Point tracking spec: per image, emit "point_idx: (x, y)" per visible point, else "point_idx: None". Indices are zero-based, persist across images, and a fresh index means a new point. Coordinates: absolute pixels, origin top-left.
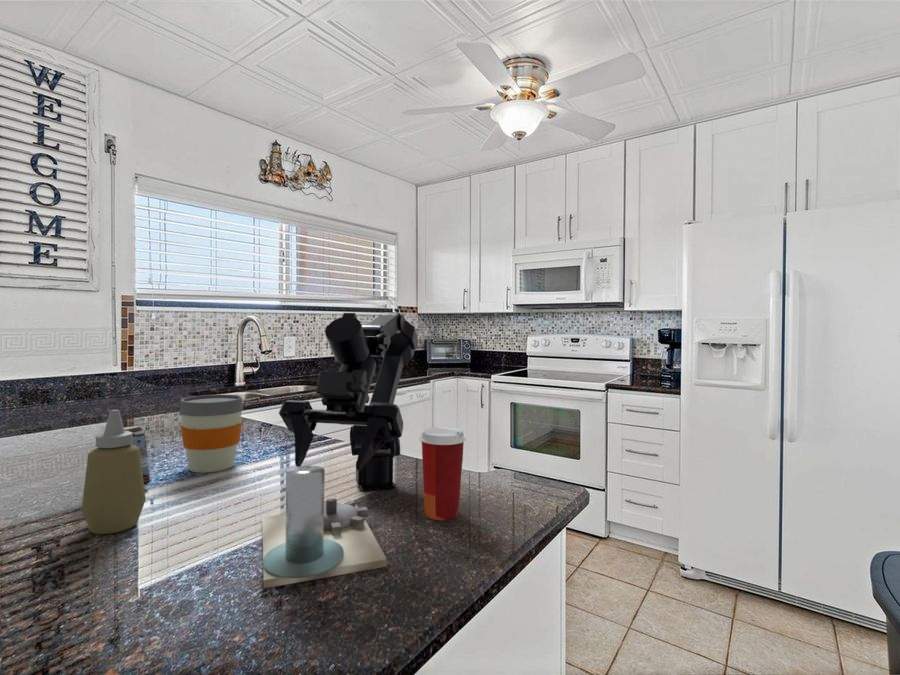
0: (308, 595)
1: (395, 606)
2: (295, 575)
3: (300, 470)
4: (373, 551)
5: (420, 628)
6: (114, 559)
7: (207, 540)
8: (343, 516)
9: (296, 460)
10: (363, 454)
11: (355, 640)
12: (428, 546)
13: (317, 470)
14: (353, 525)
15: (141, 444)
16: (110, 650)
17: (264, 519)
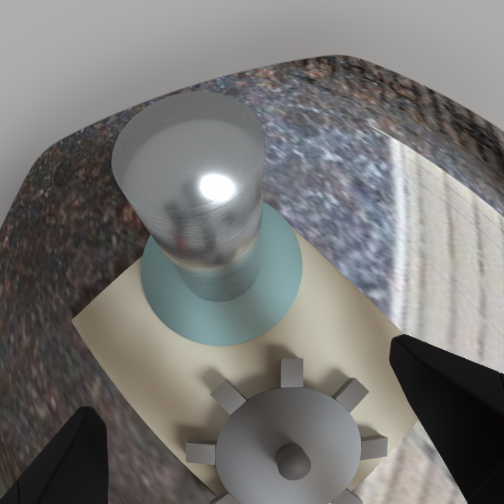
0: None
1: (42, 229)
2: None
3: (209, 137)
4: (103, 340)
5: (16, 206)
6: (484, 179)
7: (458, 271)
8: (243, 450)
9: (409, 339)
10: (46, 447)
11: (70, 161)
12: (45, 420)
13: (141, 164)
14: (208, 441)
15: None
16: (296, 73)
17: None
